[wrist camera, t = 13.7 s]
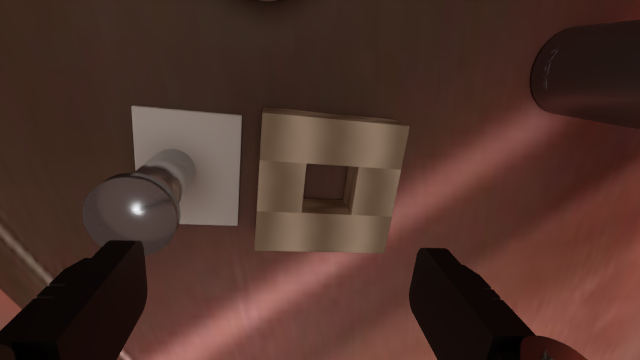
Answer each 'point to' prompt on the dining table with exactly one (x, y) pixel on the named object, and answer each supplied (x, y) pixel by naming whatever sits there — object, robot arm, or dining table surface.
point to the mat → (196, 157)
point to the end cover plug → (141, 202)
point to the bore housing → (328, 149)
